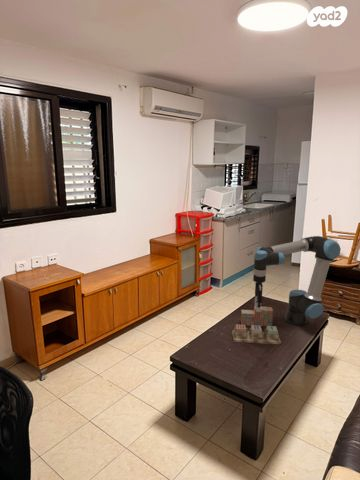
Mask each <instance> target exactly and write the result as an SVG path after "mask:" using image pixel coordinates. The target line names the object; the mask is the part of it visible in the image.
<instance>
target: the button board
mask: <svg viewBox="0 0 360 480" xmlns="http://www.w3.org/2000/svg"><path fill="white" fill-rule="evenodd" d="M233 328H234V329H233V330H232V331H231V332H232V333H231V334H232V341H233V343H249V344H250V343H252V344H269V345H282V341H281V339H280V334H279V331H278V332H277V335H267V331H266V328H264V330H263V331H262V333H261V334H252V332H251V327H249V328H248V329H247V328H246V333H236V326H235V327H233Z"/></svg>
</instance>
